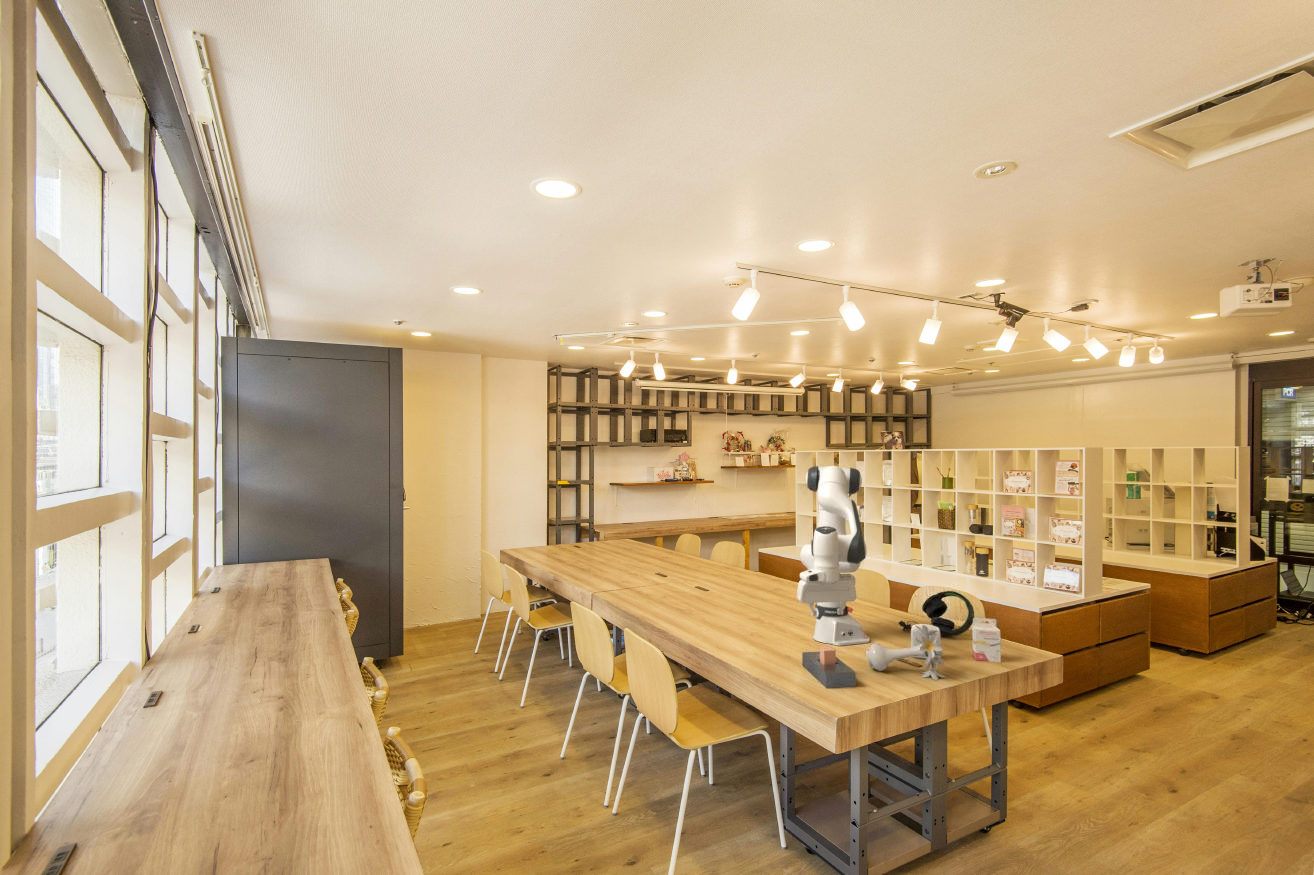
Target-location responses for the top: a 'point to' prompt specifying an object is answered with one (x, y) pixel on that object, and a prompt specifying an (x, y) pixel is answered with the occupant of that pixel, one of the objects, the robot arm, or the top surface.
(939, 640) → the photo printer
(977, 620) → the ink cartridge box
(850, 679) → the rail
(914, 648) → the flower vase
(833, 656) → the terracotta peg
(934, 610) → the headset
